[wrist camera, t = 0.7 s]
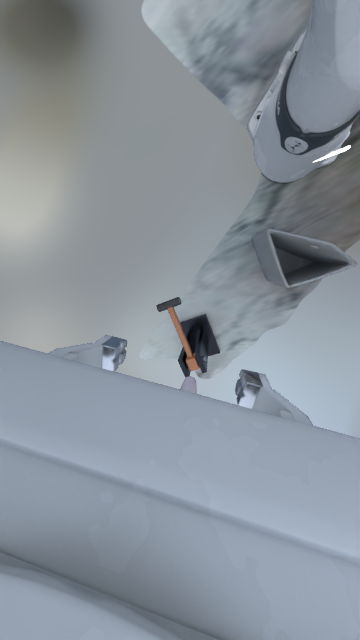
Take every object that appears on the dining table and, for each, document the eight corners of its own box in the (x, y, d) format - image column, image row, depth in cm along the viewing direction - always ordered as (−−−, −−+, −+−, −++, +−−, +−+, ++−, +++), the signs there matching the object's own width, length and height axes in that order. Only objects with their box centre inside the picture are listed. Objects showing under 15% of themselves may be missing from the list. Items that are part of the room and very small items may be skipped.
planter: (237, 268, 48) (251, 274, 30) (252, 235, 45) (278, 220, 27) (298, 292, 47) (351, 314, 29) (317, 261, 44) (389, 263, 26)
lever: (158, 303, 41) (155, 306, 39) (179, 295, 39) (177, 298, 37) (185, 367, 44) (184, 372, 42) (206, 361, 43) (205, 367, 41)
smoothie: (185, 391, 62) (177, 427, 49) (177, 375, 61) (166, 408, 48) (203, 387, 60) (200, 422, 47) (195, 370, 59) (189, 402, 46)
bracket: (176, 323, 55) (162, 347, 41) (205, 313, 53) (202, 335, 38) (191, 358, 58) (183, 393, 43) (219, 351, 56) (221, 384, 41)
